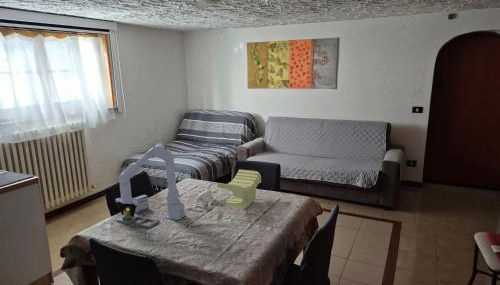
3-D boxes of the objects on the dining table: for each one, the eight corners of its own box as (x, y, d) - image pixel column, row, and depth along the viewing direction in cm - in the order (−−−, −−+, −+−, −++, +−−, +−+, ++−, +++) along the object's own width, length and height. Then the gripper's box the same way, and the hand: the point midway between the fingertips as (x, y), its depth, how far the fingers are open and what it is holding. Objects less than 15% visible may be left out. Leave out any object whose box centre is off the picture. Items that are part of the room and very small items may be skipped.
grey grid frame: (159, 222, 192) (159, 219, 191) (149, 228, 184) (148, 226, 183) (127, 215, 201) (127, 213, 201) (116, 221, 193) (116, 219, 193)
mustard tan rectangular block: (133, 219, 195) (132, 209, 194) (126, 221, 192) (125, 211, 191) (130, 216, 198) (129, 207, 197) (123, 218, 196) (122, 209, 194)
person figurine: (208, 193, 205) (215, 179, 221) (189, 196, 207) (197, 182, 224) (214, 211, 209) (221, 196, 225) (196, 214, 212) (203, 199, 228)
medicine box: (138, 213, 205) (137, 199, 203) (133, 211, 207) (132, 198, 205) (149, 208, 211) (148, 195, 209) (144, 207, 213) (143, 194, 212)
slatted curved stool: (242, 214, 199) (241, 186, 195) (218, 210, 205) (217, 183, 202) (261, 197, 226) (260, 171, 222) (239, 194, 232) (239, 169, 228)
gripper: (140, 192, 193) (142, 214, 196) (121, 189, 198) (123, 210, 201) (132, 196, 186) (134, 219, 189) (112, 193, 192) (114, 215, 195)
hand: (128, 215), depth 195 cm, fingers open, 6 cm apart
